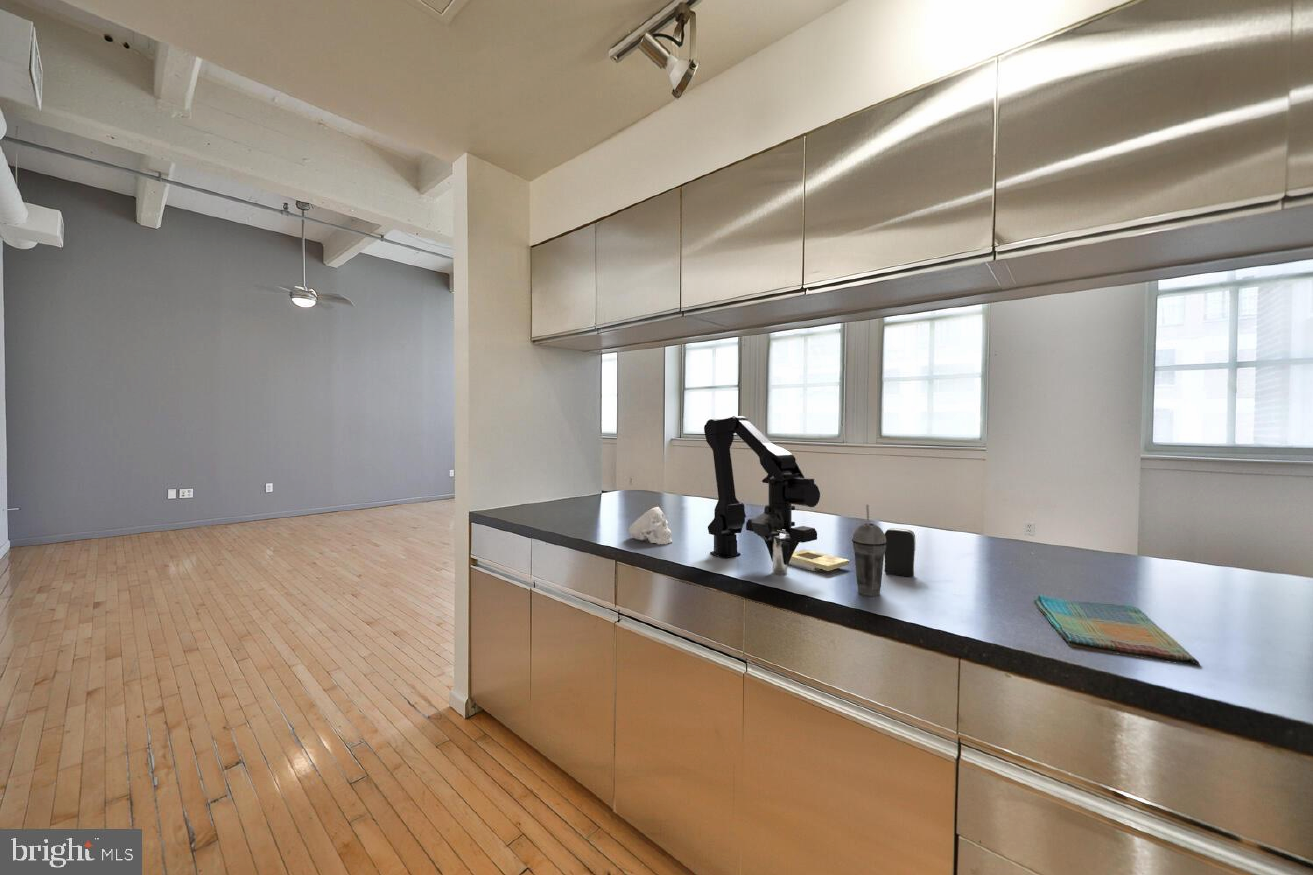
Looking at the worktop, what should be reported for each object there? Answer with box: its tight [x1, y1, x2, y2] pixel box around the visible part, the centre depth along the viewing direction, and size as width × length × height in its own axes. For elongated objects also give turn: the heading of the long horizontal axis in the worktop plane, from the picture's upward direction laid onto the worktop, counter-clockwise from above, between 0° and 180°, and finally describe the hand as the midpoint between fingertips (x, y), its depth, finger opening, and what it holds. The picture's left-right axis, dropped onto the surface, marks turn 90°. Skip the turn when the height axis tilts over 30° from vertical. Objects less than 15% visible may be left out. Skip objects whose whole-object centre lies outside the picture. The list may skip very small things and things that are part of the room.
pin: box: [772, 535, 788, 576], centre depth 128 cm, size 4×4×9 cm
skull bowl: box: [628, 506, 673, 545], centre depth 163 cm, size 10×14×12 cm
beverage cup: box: [851, 504, 887, 597], centre depth 112 cm, size 7×7×20 cm
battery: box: [883, 527, 916, 578], centre depth 126 cm, size 7×4×11 cm, turn 55°
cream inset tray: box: [787, 548, 850, 573], centre depth 135 cm, size 18×9×2 cm, turn 36°
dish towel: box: [1033, 594, 1201, 667], centre depth 92 cm, size 17×23×2 cm
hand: (779, 562), depth 128 cm, fingers closed on pin, 4 cm apart
